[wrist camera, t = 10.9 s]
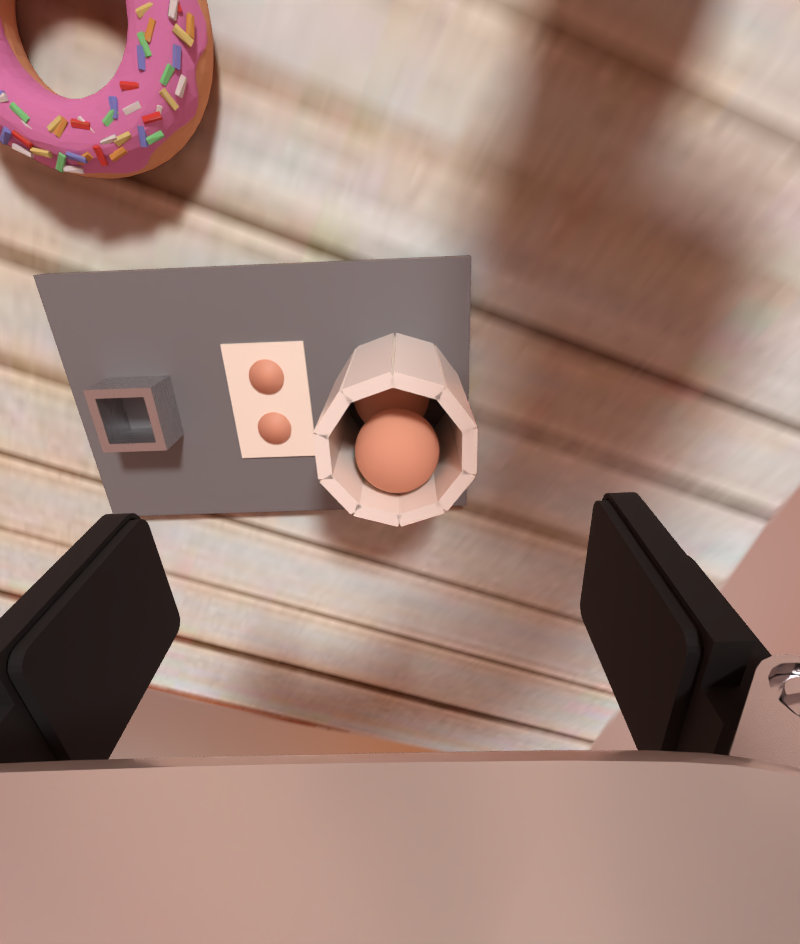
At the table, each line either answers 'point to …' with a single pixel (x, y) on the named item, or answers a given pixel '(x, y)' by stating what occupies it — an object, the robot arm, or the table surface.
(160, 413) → the grey hollow block
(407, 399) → the tube ball
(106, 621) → the robot arm
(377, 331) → the board
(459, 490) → the tube
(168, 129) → the donut
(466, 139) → the table surface
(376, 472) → the ball
